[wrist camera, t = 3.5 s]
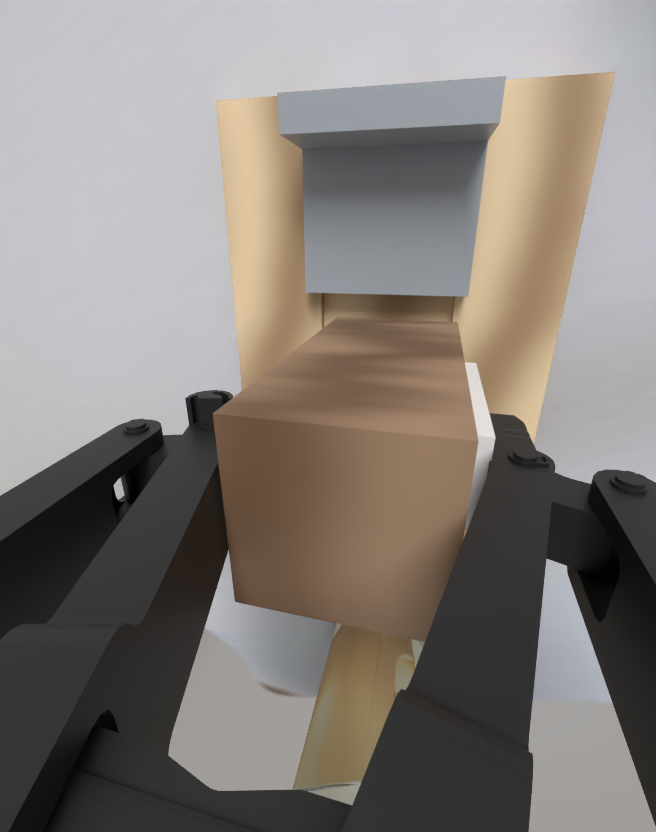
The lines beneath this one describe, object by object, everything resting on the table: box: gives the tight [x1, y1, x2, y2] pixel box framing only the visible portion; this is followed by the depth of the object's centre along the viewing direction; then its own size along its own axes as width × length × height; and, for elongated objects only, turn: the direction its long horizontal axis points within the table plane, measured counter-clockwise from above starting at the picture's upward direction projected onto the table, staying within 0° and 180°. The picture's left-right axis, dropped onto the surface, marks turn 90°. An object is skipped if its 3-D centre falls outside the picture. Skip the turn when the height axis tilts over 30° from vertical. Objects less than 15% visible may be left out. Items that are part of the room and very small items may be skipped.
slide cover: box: [277, 76, 506, 297], centre depth 17 cm, size 7×7×4 cm
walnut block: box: [213, 317, 479, 642], centre depth 14 cm, size 5×5×11 cm
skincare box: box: [293, 623, 425, 805], centre depth 26 cm, size 6×4×12 cm
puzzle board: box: [216, 72, 615, 540], centre depth 23 cm, size 16×25×2 cm, turn 0°
